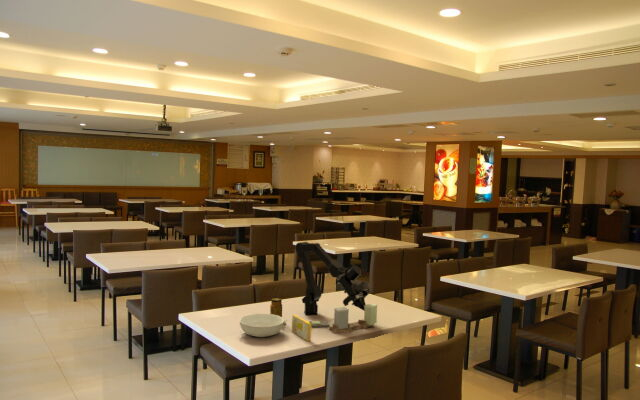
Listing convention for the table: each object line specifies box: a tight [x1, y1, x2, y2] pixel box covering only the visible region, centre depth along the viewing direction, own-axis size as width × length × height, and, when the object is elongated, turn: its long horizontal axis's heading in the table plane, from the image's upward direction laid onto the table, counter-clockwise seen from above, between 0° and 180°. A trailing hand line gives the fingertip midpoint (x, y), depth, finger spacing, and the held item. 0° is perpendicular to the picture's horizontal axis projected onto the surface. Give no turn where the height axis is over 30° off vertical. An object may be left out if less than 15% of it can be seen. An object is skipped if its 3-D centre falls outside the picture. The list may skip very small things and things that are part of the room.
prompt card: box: [308, 320, 331, 329], centre depth 244 cm, size 10×7×2 cm
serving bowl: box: [239, 313, 285, 338], centre depth 229 cm, size 21×21×7 cm
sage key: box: [363, 302, 378, 326], centre depth 243 cm, size 4×6×9 cm
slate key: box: [333, 306, 350, 329], centre depth 235 cm, size 4×6×9 cm
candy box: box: [291, 314, 312, 342], centre depth 228 cm, size 16×2×8 cm, turn 30°
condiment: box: [269, 297, 287, 325], centre depth 248 cm, size 7×8×12 cm
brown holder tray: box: [328, 318, 372, 334], centre depth 241 cm, size 25×9×4 cm, turn 127°
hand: (366, 310), depth 244 cm, fingers closed
